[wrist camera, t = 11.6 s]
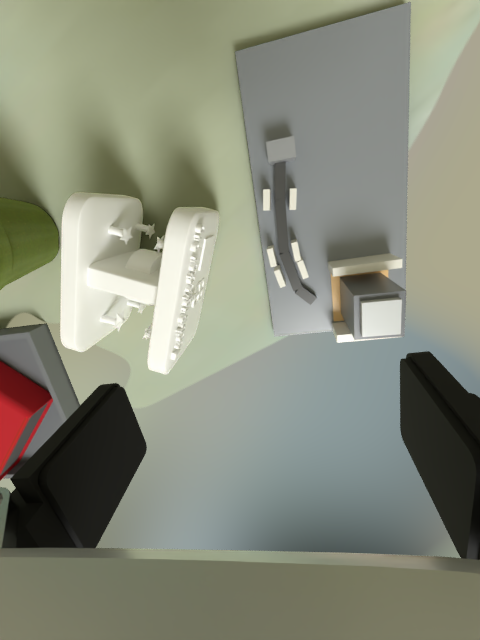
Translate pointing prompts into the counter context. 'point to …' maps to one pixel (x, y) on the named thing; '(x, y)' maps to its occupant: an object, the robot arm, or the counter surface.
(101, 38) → the counter surface
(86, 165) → the counter surface
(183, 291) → the cable organizer
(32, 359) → the tray
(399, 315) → the block
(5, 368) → the red device housing
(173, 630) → the robot arm
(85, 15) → the counter surface
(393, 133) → the board
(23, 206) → the plant pot
